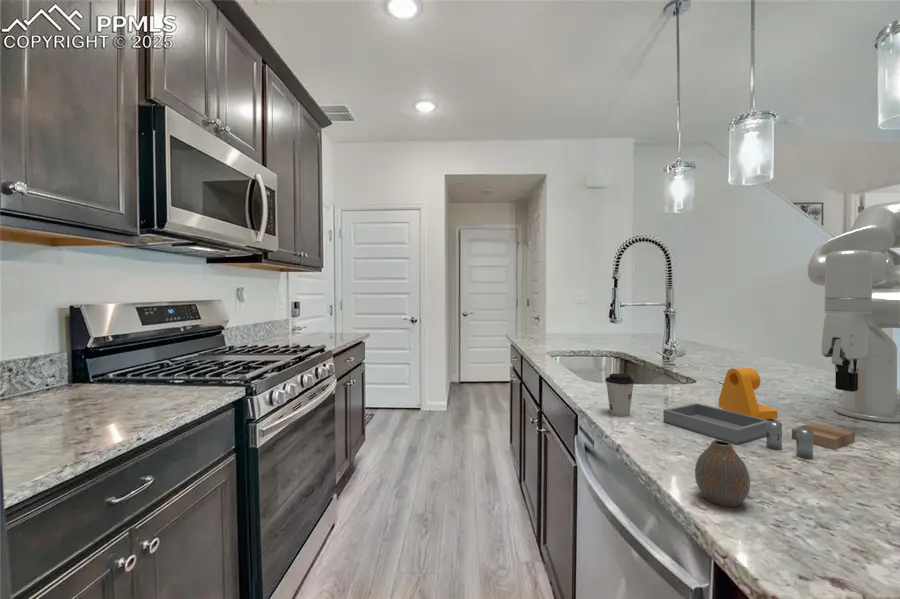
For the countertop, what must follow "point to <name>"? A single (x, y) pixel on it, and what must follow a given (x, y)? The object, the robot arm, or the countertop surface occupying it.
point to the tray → (717, 423)
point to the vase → (722, 475)
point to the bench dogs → (802, 439)
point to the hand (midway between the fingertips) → (846, 390)
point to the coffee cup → (619, 394)
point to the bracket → (743, 394)
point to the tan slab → (828, 436)
